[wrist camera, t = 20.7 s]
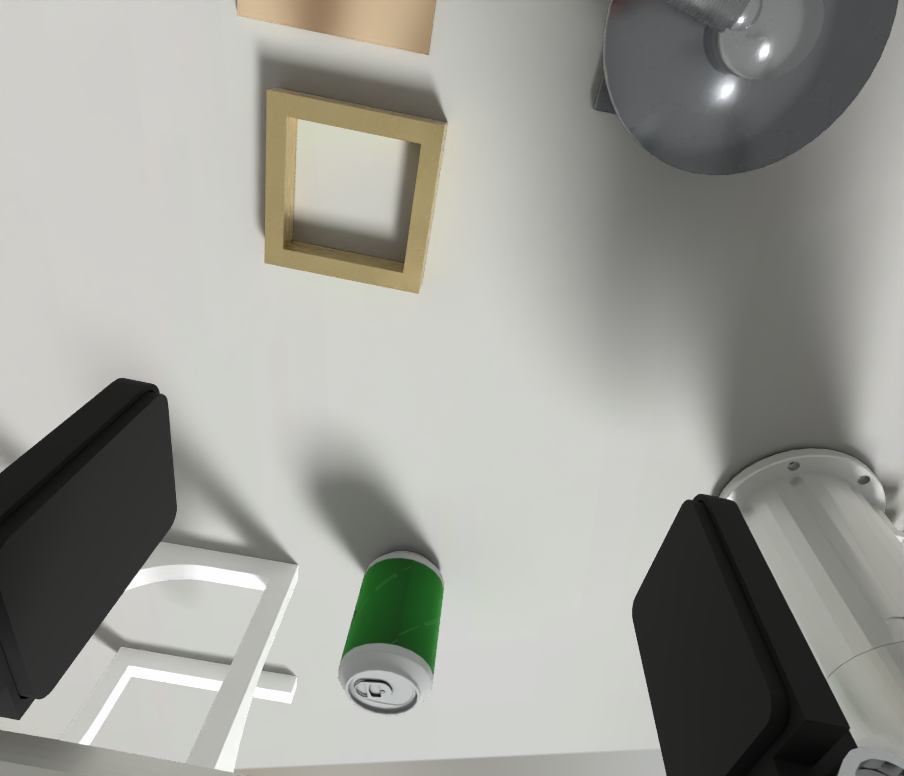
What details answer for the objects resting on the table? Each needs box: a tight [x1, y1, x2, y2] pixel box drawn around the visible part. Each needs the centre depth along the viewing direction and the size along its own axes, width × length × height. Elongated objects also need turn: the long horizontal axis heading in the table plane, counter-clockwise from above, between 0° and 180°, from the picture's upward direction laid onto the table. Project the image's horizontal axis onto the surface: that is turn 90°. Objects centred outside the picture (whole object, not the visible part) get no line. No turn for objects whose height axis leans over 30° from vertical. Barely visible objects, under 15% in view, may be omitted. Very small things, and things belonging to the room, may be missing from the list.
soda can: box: [338, 551, 444, 716], centre depth 49 cm, size 8×8×12 cm
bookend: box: [58, 542, 298, 772], centre depth 52 cm, size 20×20×20 cm
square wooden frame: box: [265, 88, 448, 294], centre depth 36 cm, size 10×10×2 cm
